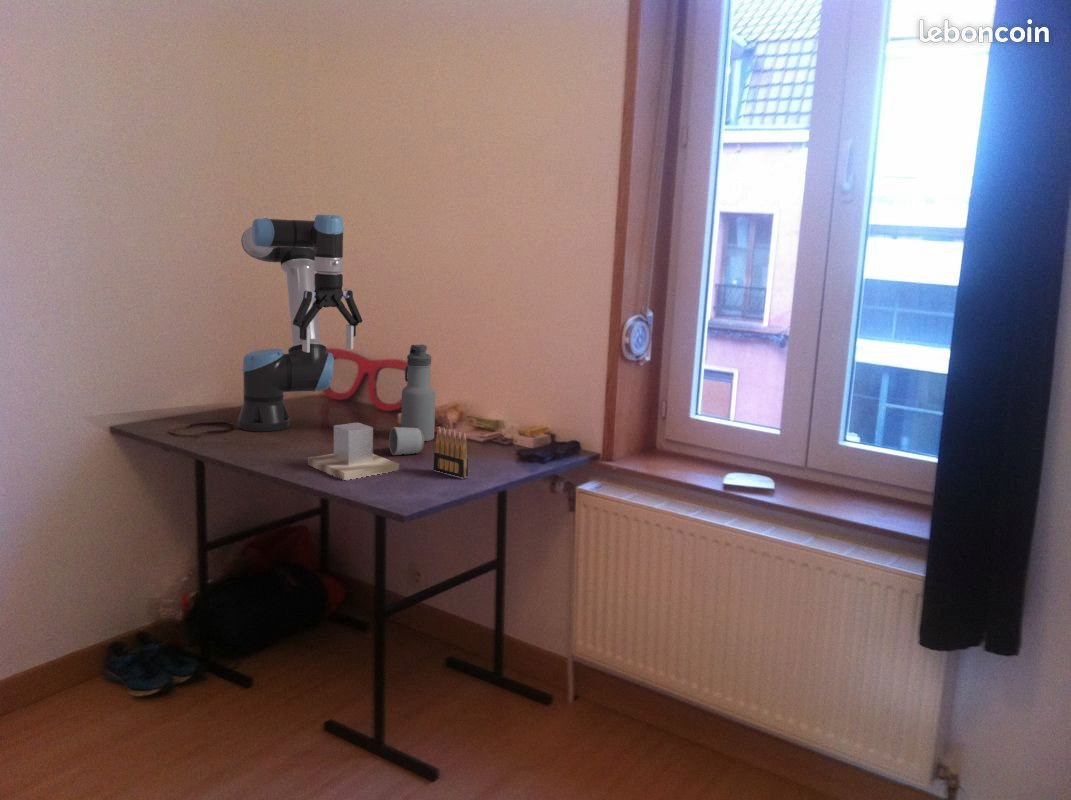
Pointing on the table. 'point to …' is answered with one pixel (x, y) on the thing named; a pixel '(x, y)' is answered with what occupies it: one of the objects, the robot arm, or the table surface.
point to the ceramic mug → (405, 440)
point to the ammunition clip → (451, 453)
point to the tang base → (352, 467)
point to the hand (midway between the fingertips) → (328, 350)
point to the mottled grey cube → (353, 443)
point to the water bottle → (418, 393)
